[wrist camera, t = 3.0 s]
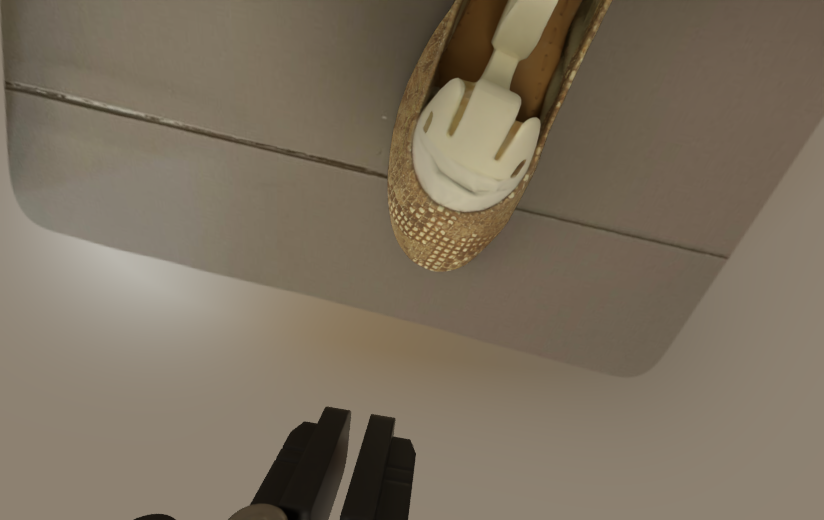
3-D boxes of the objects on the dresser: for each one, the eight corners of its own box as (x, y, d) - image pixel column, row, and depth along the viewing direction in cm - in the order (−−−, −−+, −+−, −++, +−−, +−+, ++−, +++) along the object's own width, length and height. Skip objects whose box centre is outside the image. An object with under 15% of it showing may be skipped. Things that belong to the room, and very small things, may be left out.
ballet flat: (363, 239, 35) (329, 279, 25) (502, -225, 26) (530, -434, 16) (487, 281, 35) (499, 337, 25) (671, -167, 26) (798, -343, 16)
